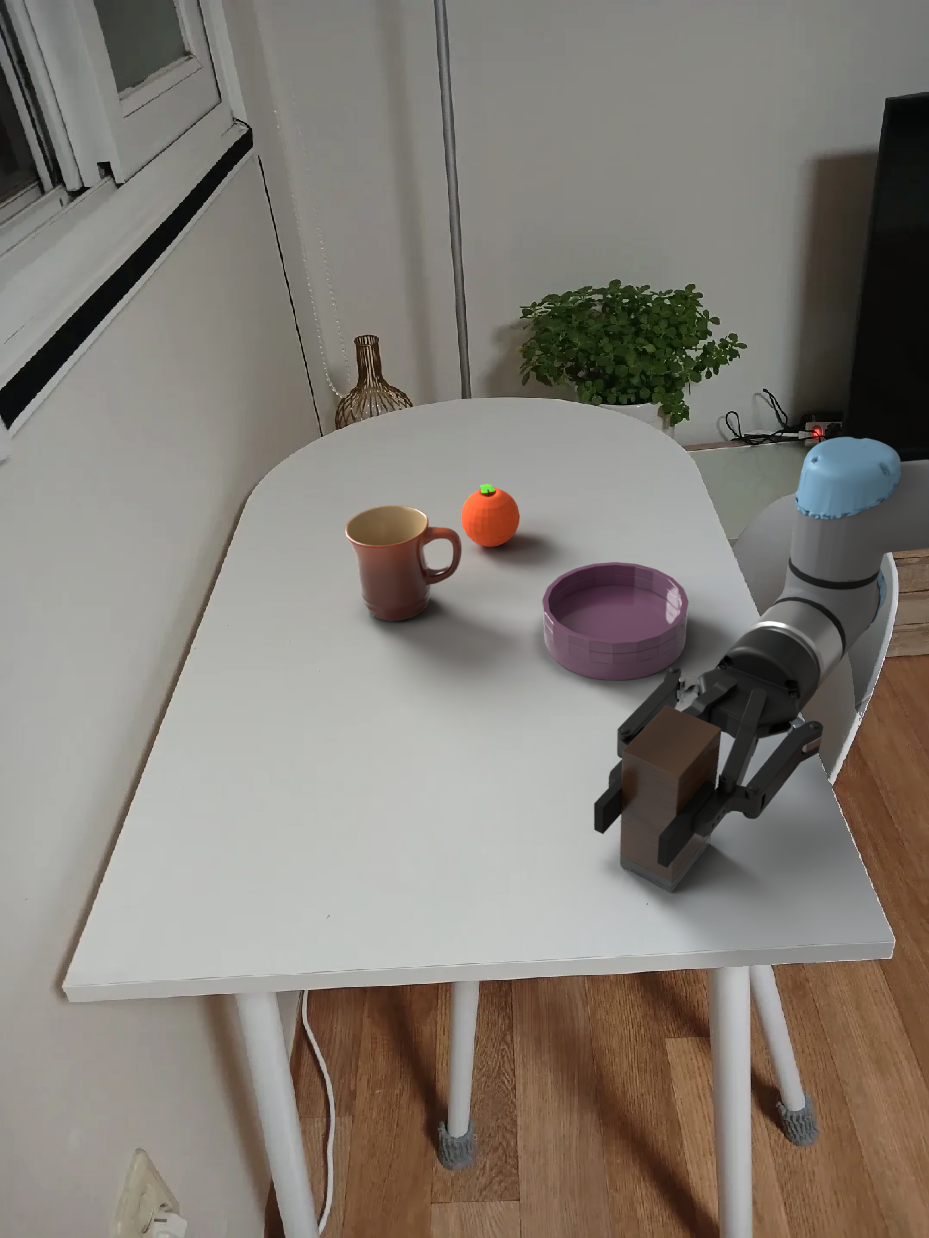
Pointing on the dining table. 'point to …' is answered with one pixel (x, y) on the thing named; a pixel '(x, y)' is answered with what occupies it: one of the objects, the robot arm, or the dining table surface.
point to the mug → (397, 559)
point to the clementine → (490, 516)
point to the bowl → (615, 620)
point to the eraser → (664, 791)
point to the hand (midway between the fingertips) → (630, 834)
